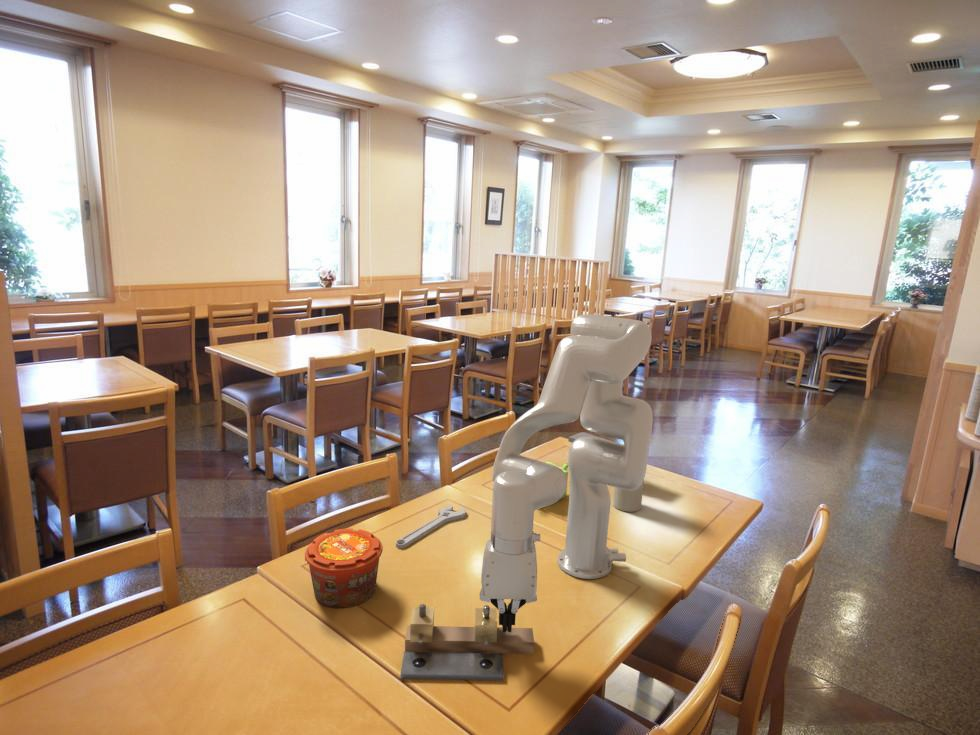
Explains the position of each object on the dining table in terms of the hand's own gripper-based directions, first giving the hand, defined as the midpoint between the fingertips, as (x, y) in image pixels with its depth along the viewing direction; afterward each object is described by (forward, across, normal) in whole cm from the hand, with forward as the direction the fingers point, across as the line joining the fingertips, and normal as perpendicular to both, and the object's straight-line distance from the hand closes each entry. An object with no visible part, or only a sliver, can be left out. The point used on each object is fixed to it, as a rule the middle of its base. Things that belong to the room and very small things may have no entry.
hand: (506, 627), depth 111 cm
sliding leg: (+1, +4, +1) cm, 4 cm away
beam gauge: (+4, +7, +1) cm, 8 cm away
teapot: (+4, -14, -64) cm, 65 cm away
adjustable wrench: (+5, +18, -45) cm, 48 cm away
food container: (+4, +34, -17) cm, 38 cm away
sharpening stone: (+4, -37, -80) cm, 88 cm away
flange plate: (+4, +10, +6) cm, 12 cm away
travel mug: (+4, -38, -59) cm, 71 cm away
